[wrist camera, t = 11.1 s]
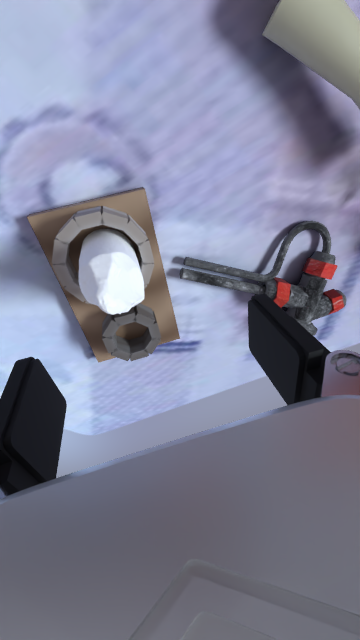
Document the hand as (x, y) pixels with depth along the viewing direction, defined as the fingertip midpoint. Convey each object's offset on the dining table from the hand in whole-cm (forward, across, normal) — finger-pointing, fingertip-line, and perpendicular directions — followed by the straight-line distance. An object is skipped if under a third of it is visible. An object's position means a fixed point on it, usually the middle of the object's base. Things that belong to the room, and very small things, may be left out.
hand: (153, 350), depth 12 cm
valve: (+23, -18, +10) cm, 31 cm away
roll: (+21, +3, +2) cm, 21 cm away
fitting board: (+22, +3, +7) cm, 24 cm away
